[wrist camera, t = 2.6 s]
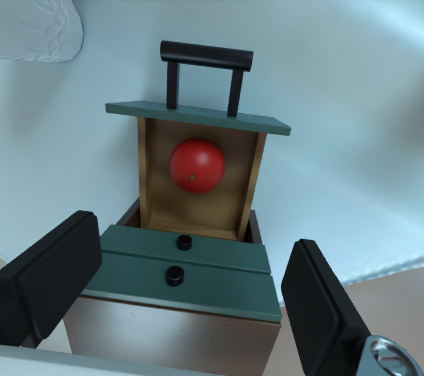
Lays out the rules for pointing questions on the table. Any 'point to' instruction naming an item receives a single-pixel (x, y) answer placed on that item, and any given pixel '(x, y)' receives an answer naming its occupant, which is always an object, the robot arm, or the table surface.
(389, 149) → the table surface
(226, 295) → the cabinet
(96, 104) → the table surface
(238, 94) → the drawer
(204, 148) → the apple
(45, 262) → the robot arm
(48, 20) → the white cup
